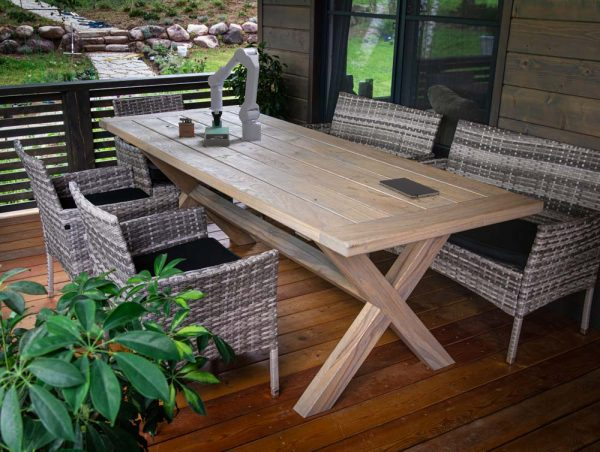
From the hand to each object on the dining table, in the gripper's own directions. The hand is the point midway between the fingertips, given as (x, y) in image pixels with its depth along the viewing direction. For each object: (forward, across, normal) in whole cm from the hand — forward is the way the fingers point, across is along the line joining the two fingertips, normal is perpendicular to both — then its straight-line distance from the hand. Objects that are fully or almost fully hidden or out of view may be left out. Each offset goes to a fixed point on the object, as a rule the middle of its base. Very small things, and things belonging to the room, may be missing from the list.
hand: (217, 125), depth 330 cm
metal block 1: (+3, +27, -1) cm, 27 cm away
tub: (+4, +24, 0) cm, 25 cm away
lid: (+2, +6, 0) cm, 7 cm away
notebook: (+5, +103, +73) cm, 126 cm away
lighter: (+4, +10, -15) cm, 19 cm away
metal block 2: (+3, +22, +1) cm, 22 cm away
